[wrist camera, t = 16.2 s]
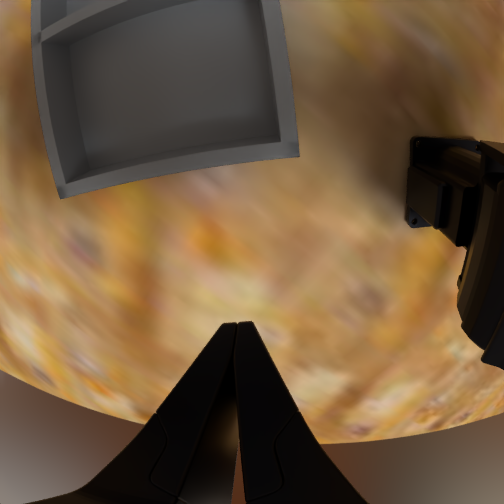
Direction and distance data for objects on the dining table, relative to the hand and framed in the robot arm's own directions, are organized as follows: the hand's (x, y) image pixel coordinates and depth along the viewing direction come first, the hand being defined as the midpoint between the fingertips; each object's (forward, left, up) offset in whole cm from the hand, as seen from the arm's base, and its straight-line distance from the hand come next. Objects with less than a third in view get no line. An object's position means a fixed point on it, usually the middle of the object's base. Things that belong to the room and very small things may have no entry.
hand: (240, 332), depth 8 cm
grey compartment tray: (+4, -18, -12) cm, 22 cm away
